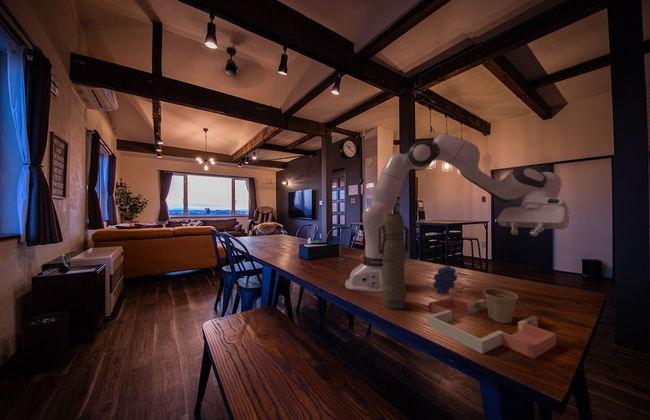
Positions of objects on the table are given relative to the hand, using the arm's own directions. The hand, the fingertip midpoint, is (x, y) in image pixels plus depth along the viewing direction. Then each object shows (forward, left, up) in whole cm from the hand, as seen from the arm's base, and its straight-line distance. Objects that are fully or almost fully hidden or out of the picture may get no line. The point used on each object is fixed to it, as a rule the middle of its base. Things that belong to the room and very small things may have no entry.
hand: (523, 234), depth 86 cm
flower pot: (-13, -9, -28) cm, 32 cm away
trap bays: (-21, -14, -27) cm, 37 cm away
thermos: (-46, 0, -28) cm, 53 cm away
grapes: (-22, +16, -28) cm, 39 cm away
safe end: (-28, -19, -27) cm, 44 cm away
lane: (-13, -9, -27) cm, 31 cm away
